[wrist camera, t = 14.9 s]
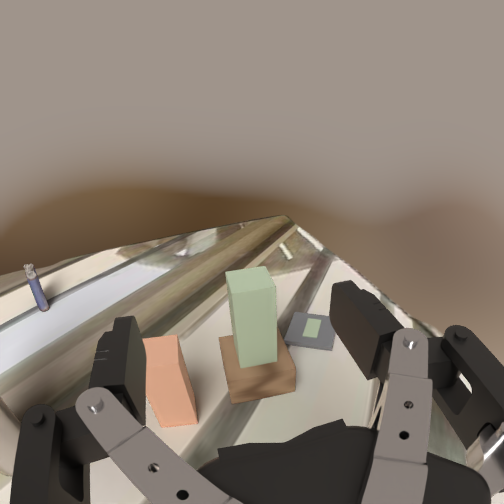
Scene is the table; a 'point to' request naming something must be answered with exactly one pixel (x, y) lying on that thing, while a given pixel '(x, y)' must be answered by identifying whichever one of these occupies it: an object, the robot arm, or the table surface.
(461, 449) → the table surface
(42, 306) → the flask
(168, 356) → the terracotta pillar
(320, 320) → the tile
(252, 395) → the walnut base
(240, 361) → the sage pillar
